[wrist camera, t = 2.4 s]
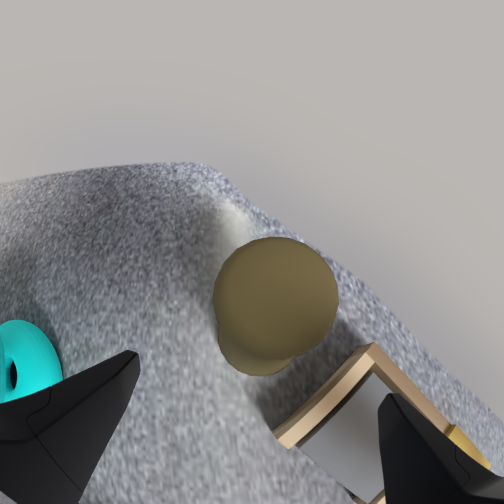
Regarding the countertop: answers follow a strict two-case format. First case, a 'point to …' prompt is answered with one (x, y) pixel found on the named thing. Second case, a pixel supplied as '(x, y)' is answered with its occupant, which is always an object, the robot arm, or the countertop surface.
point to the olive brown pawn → (273, 304)
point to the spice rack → (359, 422)
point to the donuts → (26, 360)
